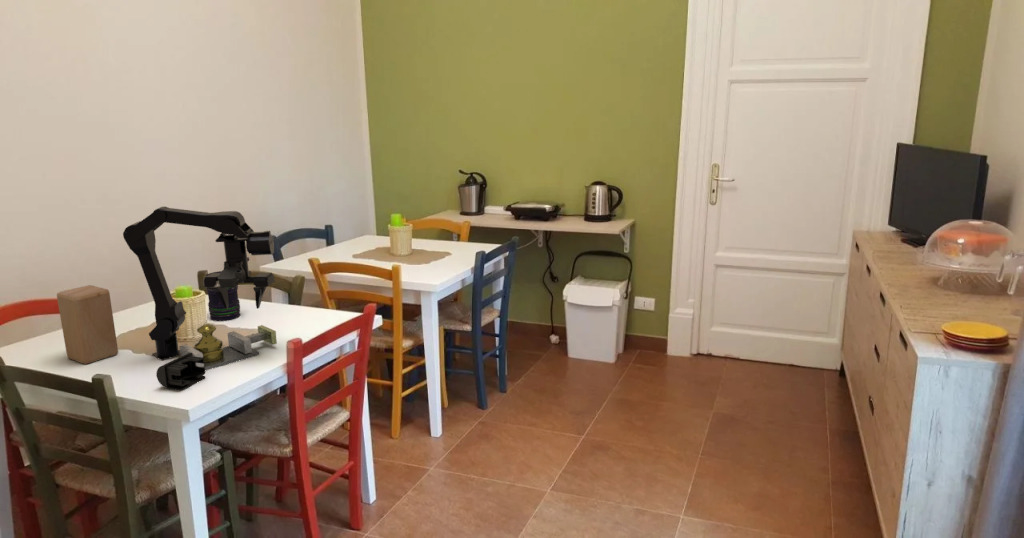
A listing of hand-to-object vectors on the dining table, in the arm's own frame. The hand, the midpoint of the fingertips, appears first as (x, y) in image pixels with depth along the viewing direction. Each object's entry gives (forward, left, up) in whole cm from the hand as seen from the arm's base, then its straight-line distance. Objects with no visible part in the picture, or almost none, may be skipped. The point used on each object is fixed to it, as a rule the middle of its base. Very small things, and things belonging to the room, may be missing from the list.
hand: (242, 308), depth 200 cm
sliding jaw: (0, +3, -12) cm, 12 cm away
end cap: (+9, -22, -14) cm, 28 cm away
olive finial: (-1, -11, -13) cm, 17 cm away
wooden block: (-29, -32, -14) cm, 45 cm away
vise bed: (0, -8, -13) cm, 16 cm away
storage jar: (-36, +11, -14) cm, 40 cm away
